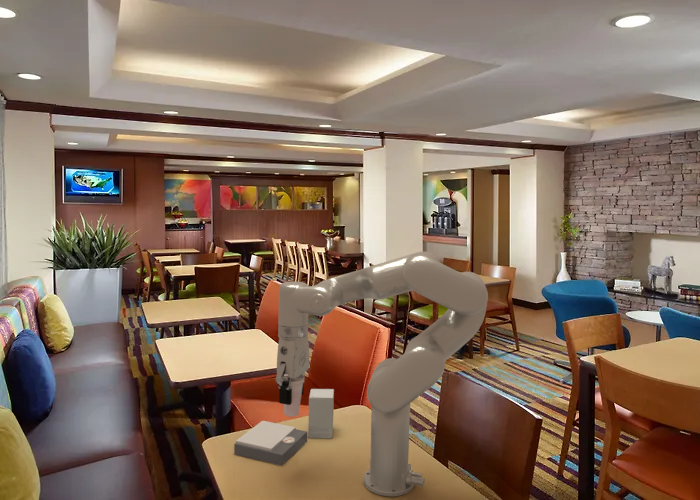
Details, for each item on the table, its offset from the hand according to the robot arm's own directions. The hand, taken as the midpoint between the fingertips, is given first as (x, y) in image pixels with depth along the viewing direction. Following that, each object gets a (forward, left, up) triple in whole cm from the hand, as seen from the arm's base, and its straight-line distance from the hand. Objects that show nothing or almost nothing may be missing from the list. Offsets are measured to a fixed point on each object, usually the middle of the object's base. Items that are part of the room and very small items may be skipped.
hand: (291, 398), depth 131 cm
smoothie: (0, 0, -4) cm, 4 cm away
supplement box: (+2, -23, -20) cm, 30 cm away
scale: (+11, -9, -20) cm, 24 cm away
